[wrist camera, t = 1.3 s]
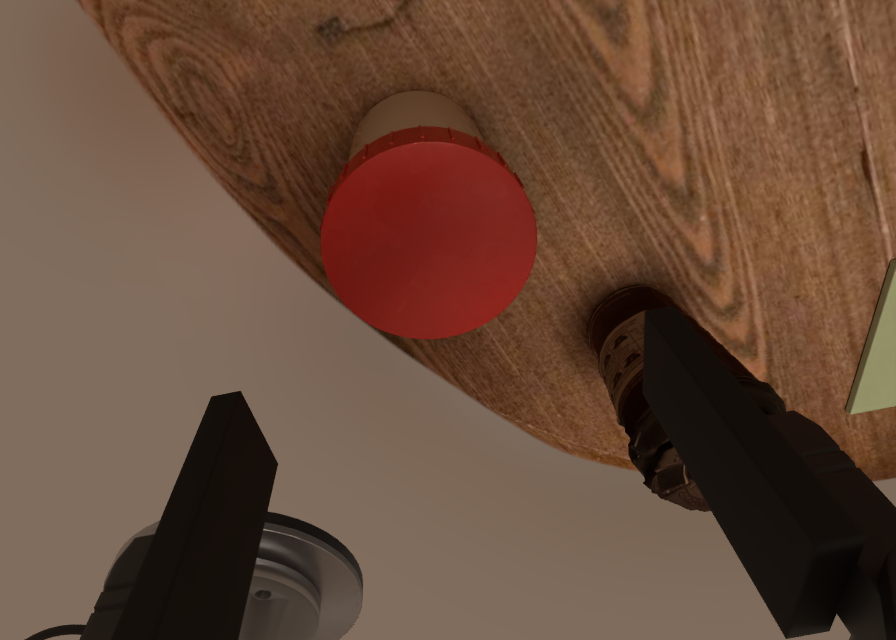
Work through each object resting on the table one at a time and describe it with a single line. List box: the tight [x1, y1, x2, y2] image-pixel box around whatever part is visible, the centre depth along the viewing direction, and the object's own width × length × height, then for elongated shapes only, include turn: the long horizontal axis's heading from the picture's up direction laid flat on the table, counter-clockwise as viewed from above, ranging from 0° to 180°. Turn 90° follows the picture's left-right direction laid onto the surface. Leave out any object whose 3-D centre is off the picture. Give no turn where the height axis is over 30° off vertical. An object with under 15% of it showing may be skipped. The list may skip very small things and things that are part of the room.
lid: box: [320, 125, 537, 339], centre depth 22 cm, size 8×8×2 cm
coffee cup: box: [588, 285, 786, 512], centre depth 33 cm, size 9×8×13 cm
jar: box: [347, 91, 487, 163], centre depth 26 cm, size 8×8×11 cm
